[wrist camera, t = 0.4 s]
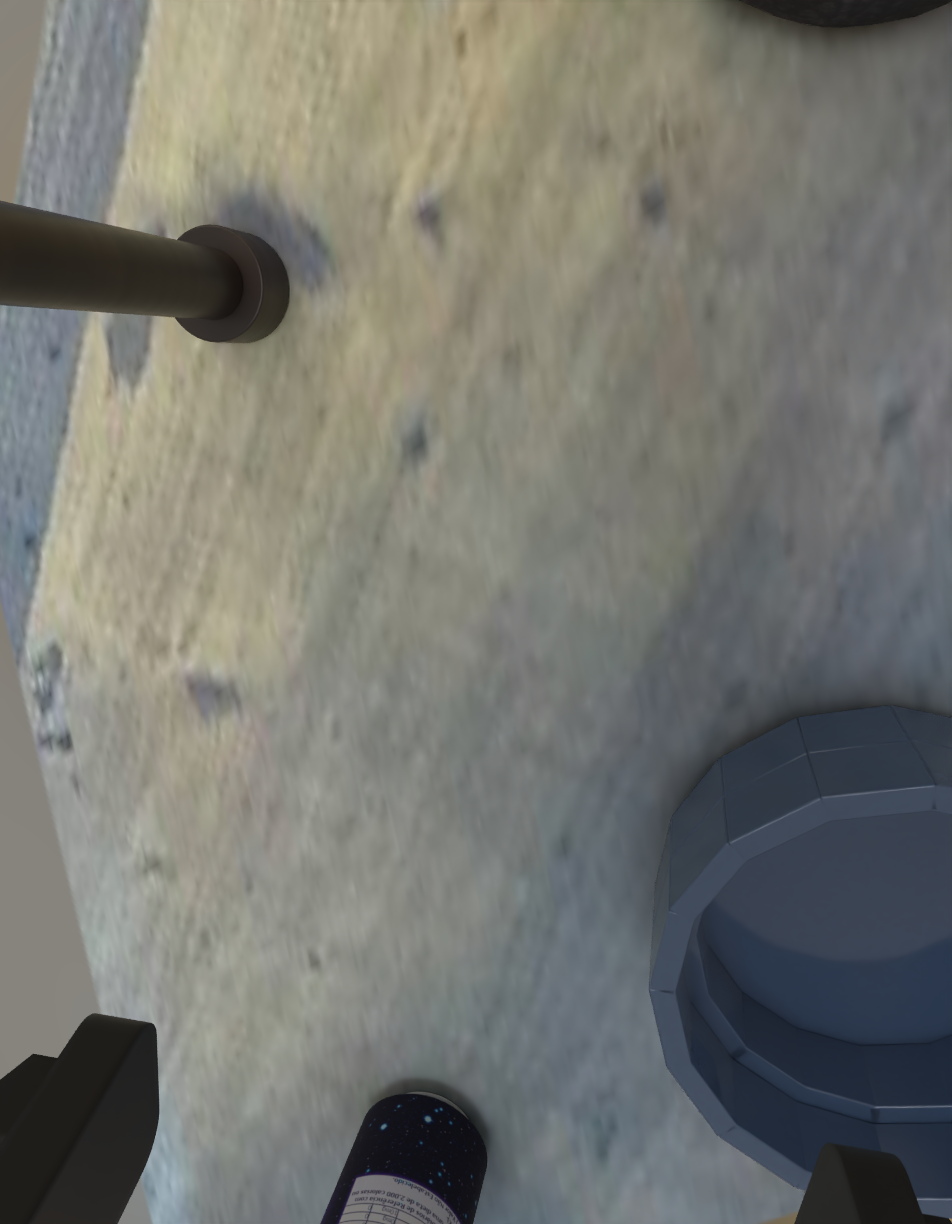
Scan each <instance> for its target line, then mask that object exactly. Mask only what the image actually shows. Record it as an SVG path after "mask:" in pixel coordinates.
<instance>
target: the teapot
mask: <svg viewBox="0 0 952 1224" xmlns="http://www.w3.org/2000/svg"><path fill="white" fill-rule="evenodd" d="M740 1H742V2H745V3H747V4H749V5H751V6H754V7H756V8H758V9H761V10H763V11H765V12H767V13H770V14H772V15H774V16H777V17H781V18H784V19H788V20H791V21H795V22H798V23H803V24H808V25H814V26H820V27H852V26H864V25H873V24H879V23H885V22H890V21H895V20H900V19H905V18H910V17H915V16H918V15H920V14H923V13H925V12H927V11H930V10H932V9H935V8H937V7H940V6H942V5H944V4H947V3H949V2H951V1H952V0H740Z"/></svg>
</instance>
